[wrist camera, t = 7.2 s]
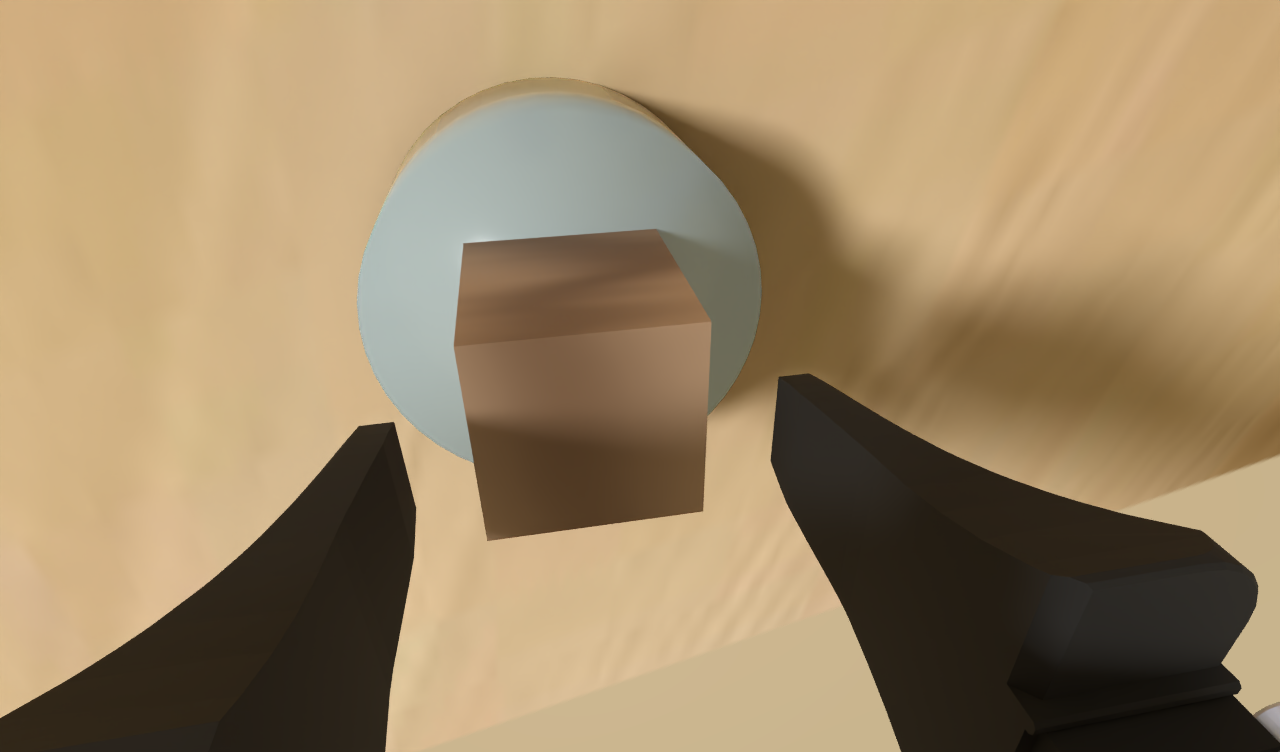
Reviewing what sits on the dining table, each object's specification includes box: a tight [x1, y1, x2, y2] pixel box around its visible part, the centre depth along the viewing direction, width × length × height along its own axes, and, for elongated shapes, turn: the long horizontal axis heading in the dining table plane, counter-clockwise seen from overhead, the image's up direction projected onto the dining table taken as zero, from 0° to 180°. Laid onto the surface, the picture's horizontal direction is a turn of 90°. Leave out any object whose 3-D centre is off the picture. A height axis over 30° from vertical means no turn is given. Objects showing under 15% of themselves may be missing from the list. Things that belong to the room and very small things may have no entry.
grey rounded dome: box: [357, 77, 762, 463], centre depth 20 cm, size 10×10×5 cm
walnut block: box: [454, 229, 712, 541], centre depth 15 cm, size 4×4×5 cm
